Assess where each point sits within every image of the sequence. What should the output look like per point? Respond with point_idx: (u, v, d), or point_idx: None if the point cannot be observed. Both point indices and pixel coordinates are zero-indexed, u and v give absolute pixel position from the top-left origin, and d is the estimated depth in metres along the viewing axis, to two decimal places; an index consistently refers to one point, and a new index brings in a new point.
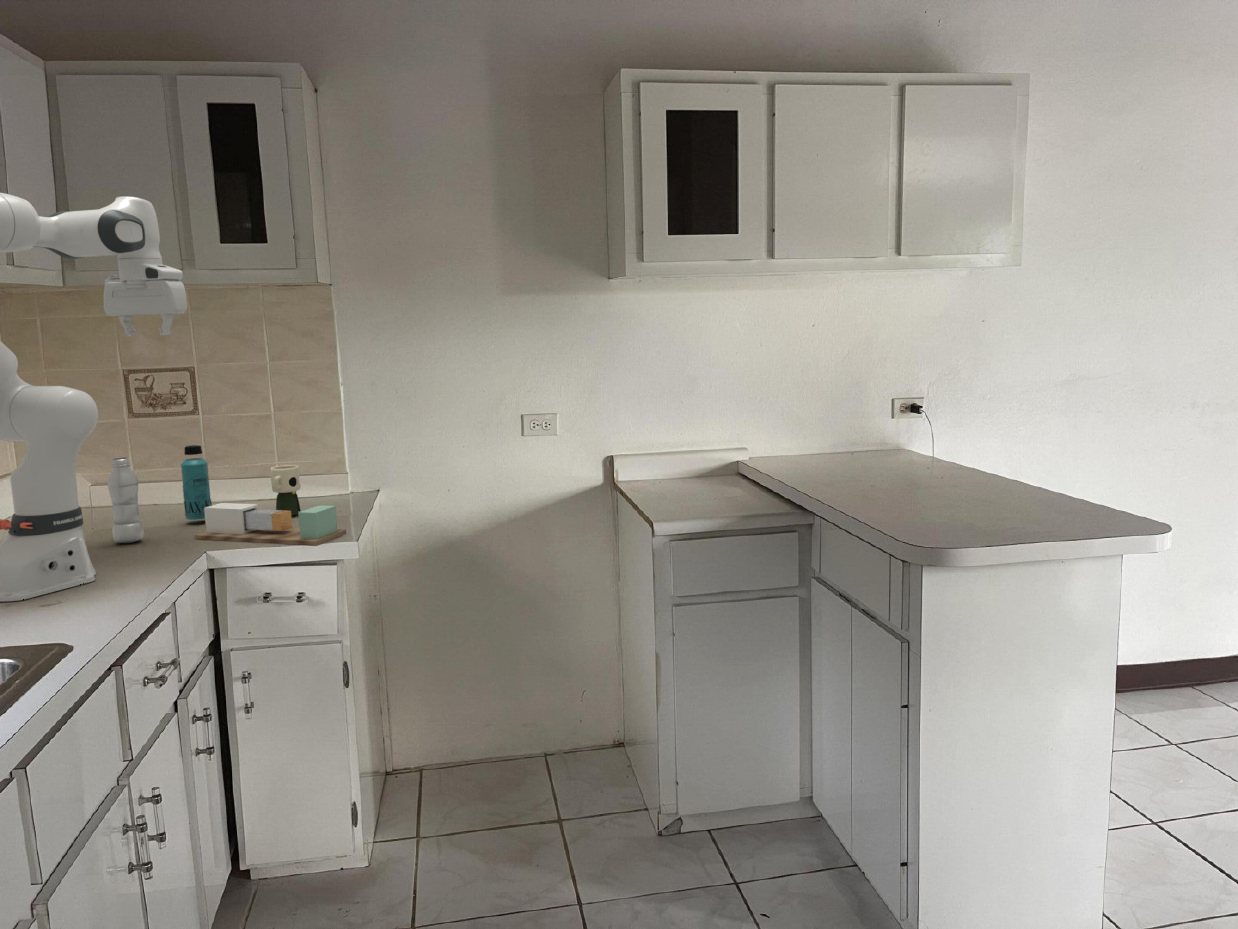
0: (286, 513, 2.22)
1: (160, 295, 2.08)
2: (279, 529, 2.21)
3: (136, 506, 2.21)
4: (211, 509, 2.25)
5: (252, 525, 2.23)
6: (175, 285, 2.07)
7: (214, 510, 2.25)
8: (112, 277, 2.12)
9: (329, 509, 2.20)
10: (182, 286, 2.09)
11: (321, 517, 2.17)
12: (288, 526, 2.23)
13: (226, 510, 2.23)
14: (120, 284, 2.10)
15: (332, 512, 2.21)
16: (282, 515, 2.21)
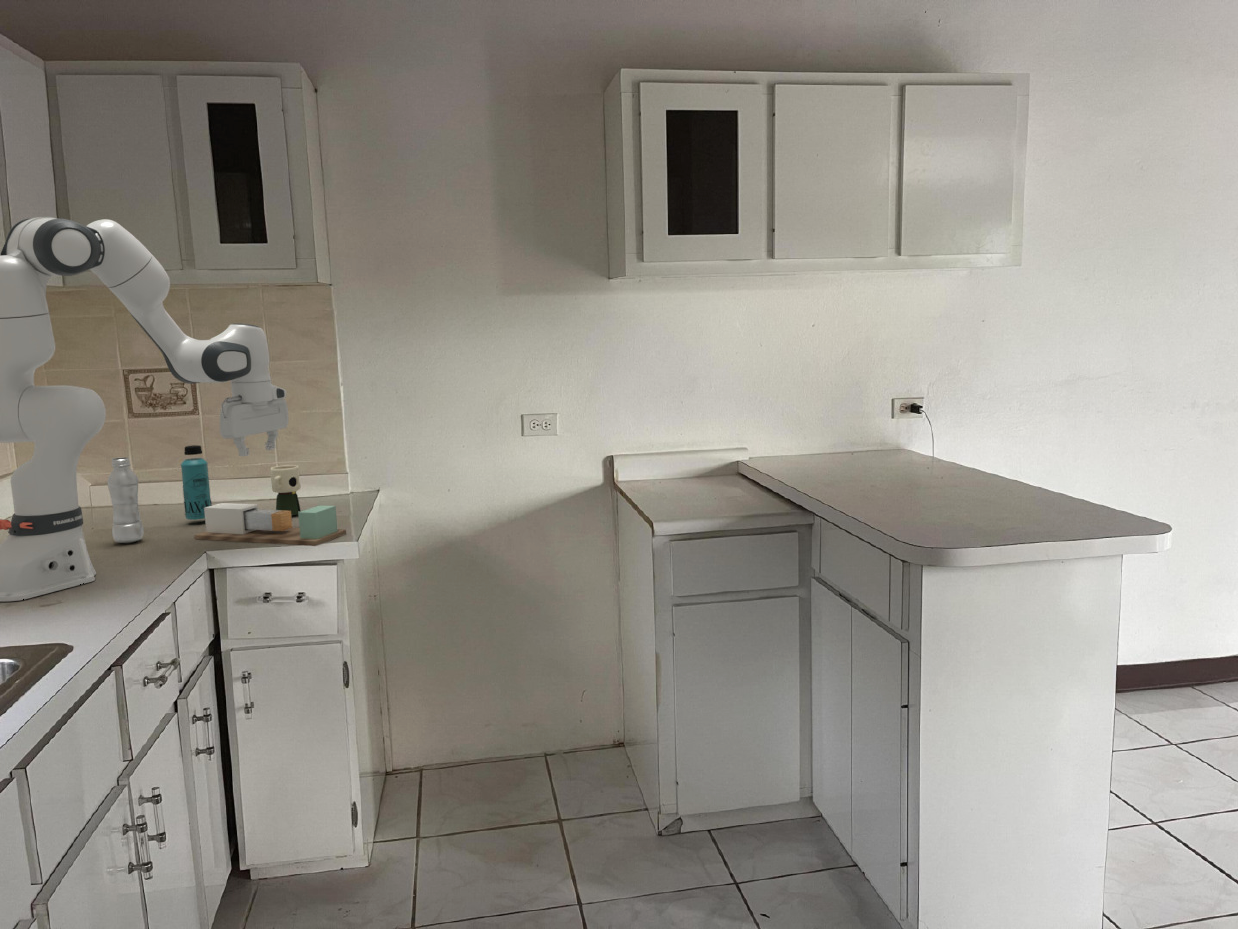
0: (286, 513, 2.22)
1: (276, 413, 2.26)
2: (279, 529, 2.21)
3: (136, 506, 2.21)
4: (211, 509, 2.25)
5: (252, 525, 2.23)
6: None
7: (214, 510, 2.25)
8: (231, 400, 2.12)
9: (329, 509, 2.20)
10: None
11: (321, 517, 2.17)
12: (288, 526, 2.23)
13: (226, 510, 2.23)
14: (247, 406, 2.16)
15: (332, 512, 2.21)
16: (282, 515, 2.21)
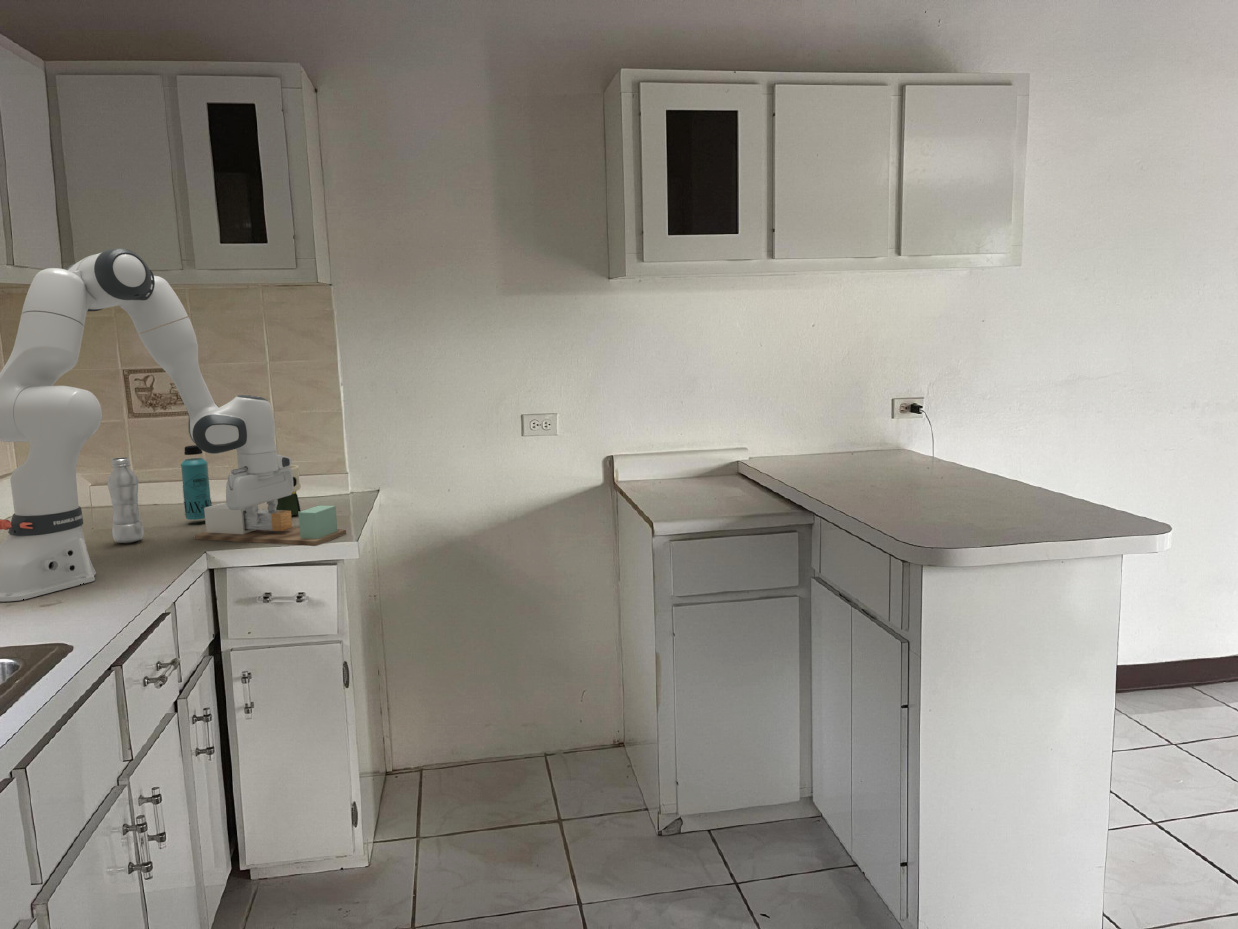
0: (286, 513, 2.22)
1: (282, 481, 2.28)
2: (279, 529, 2.21)
3: (136, 506, 2.21)
4: (211, 509, 2.25)
5: (252, 525, 2.23)
6: None
7: (214, 510, 2.25)
8: (237, 472, 2.15)
9: (329, 509, 2.20)
10: None
11: (321, 517, 2.17)
12: (288, 526, 2.23)
13: (226, 510, 2.23)
14: (253, 477, 2.18)
15: (332, 512, 2.21)
16: (282, 515, 2.21)
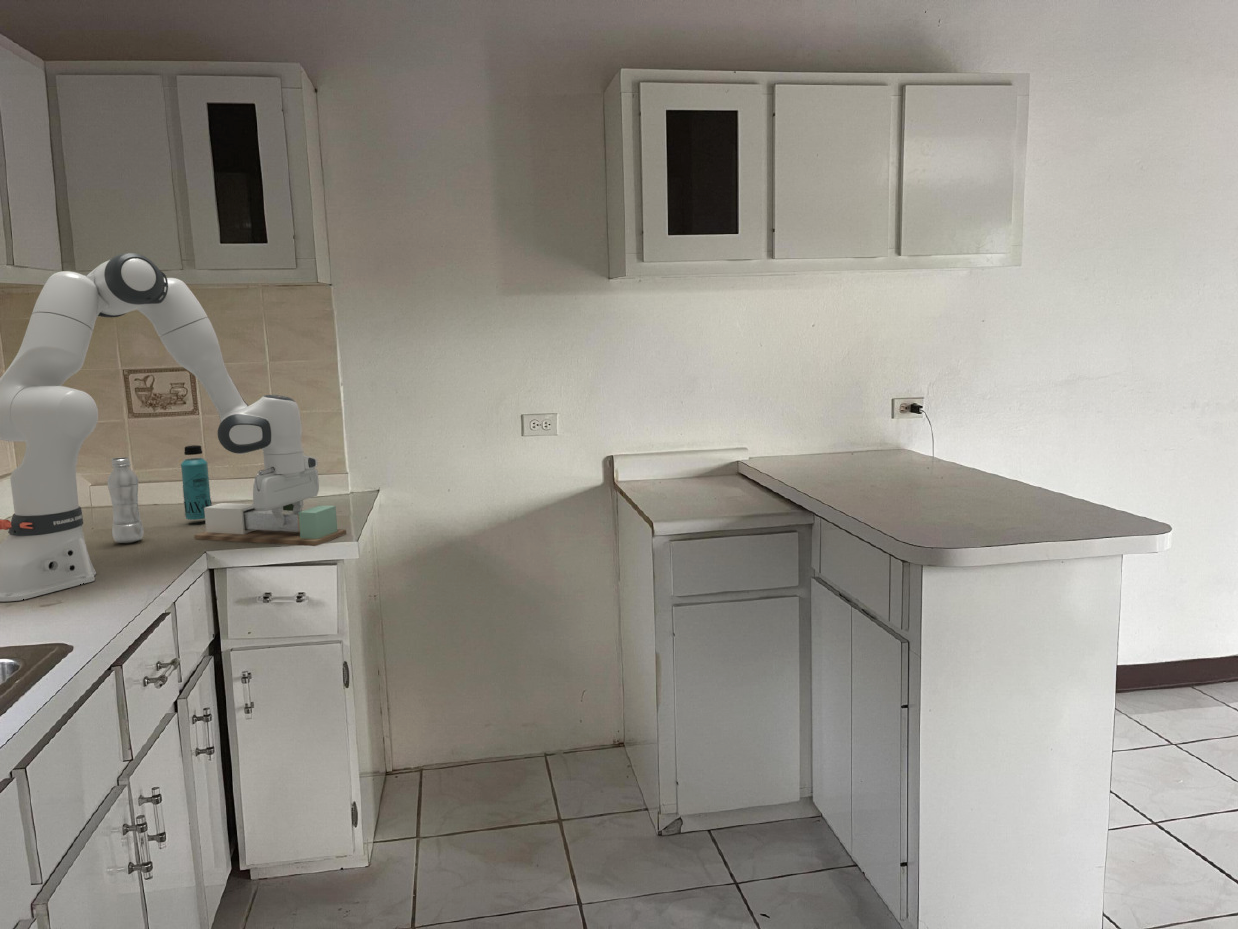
0: None
1: (307, 482, 2.26)
2: None
3: (136, 506, 2.21)
4: (211, 509, 2.25)
5: (278, 527, 2.21)
6: None
7: (214, 510, 2.25)
8: (265, 472, 2.13)
9: (329, 509, 2.20)
10: None
11: (321, 517, 2.17)
12: None
13: (226, 510, 2.23)
14: (280, 478, 2.16)
15: (332, 512, 2.21)
16: None
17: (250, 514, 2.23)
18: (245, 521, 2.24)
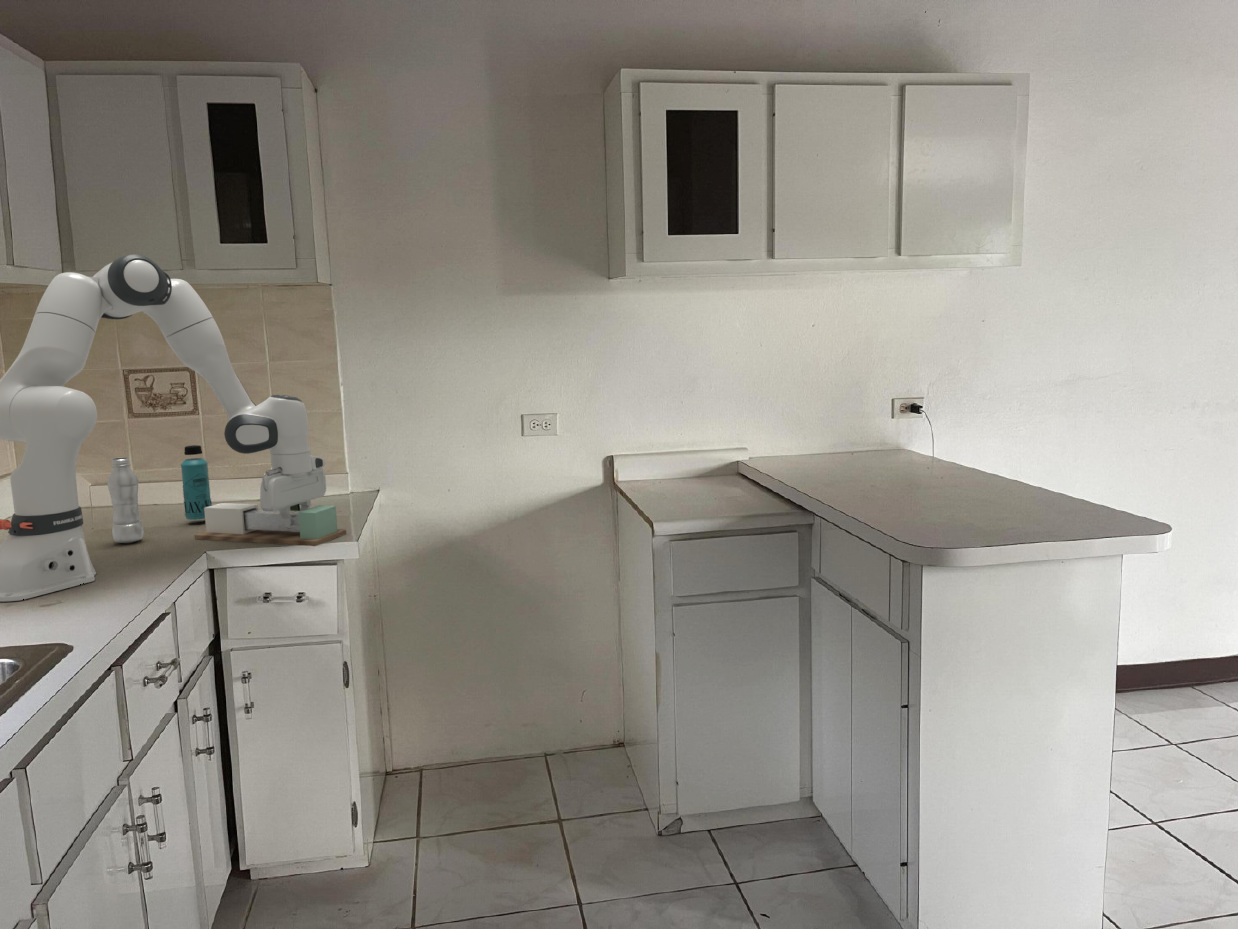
0: None
1: (315, 482, 2.26)
2: None
3: (136, 506, 2.21)
4: (211, 509, 2.25)
5: (285, 527, 2.20)
6: None
7: (214, 510, 2.25)
8: (272, 473, 2.12)
9: (329, 509, 2.20)
10: None
11: (321, 517, 2.17)
12: None
13: (226, 510, 2.23)
14: (287, 478, 2.15)
15: (332, 512, 2.21)
16: None
17: (257, 514, 2.22)
18: (252, 521, 2.23)
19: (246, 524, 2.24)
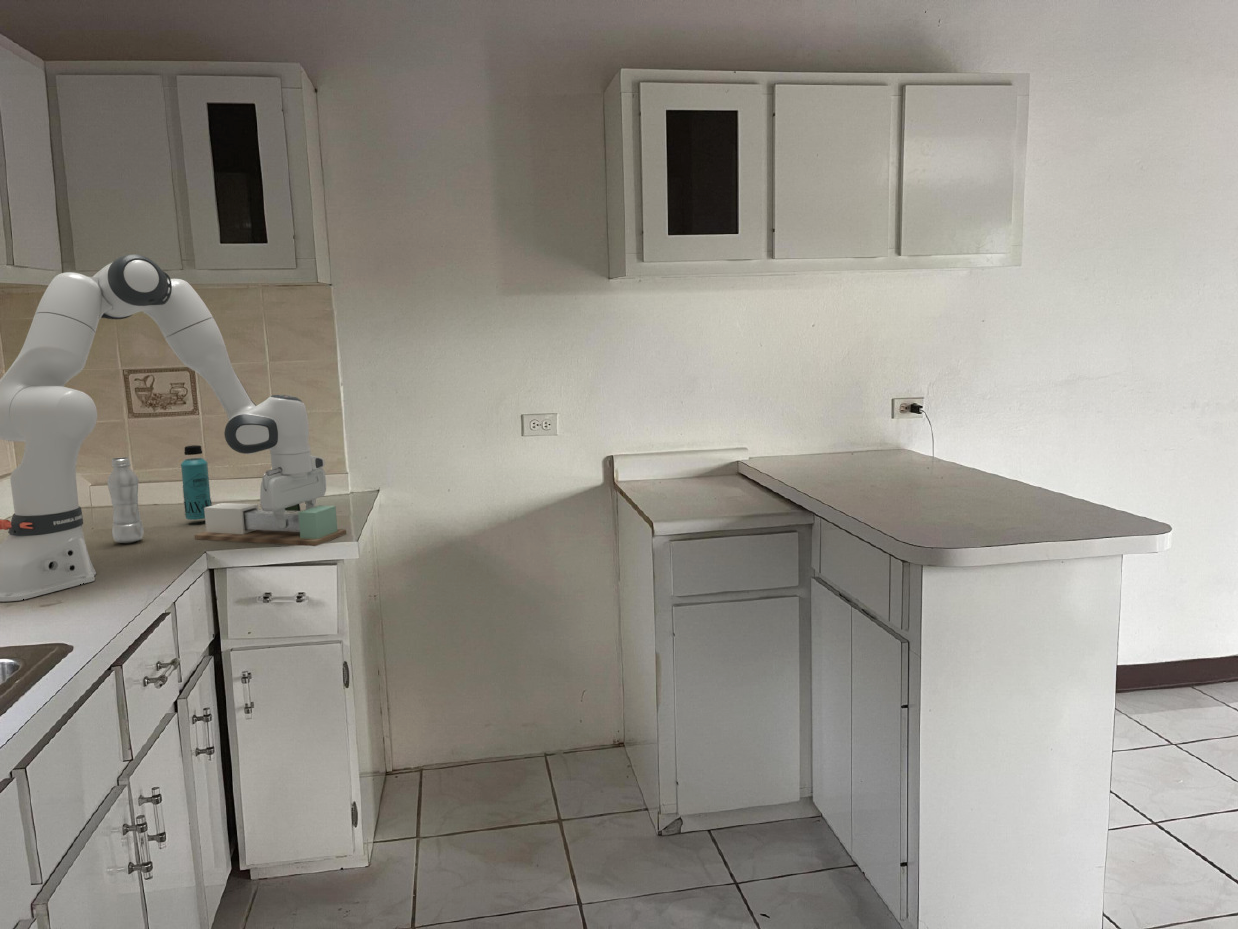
0: None
1: (315, 482, 2.26)
2: None
3: (136, 506, 2.21)
4: (211, 509, 2.25)
5: (285, 527, 2.20)
6: None
7: (214, 510, 2.25)
8: (272, 473, 2.12)
9: (329, 509, 2.20)
10: None
11: (321, 517, 2.17)
12: None
13: (226, 510, 2.23)
14: (287, 478, 2.15)
15: (332, 512, 2.21)
16: None
17: (257, 514, 2.22)
18: (252, 521, 2.23)
19: (246, 524, 2.24)
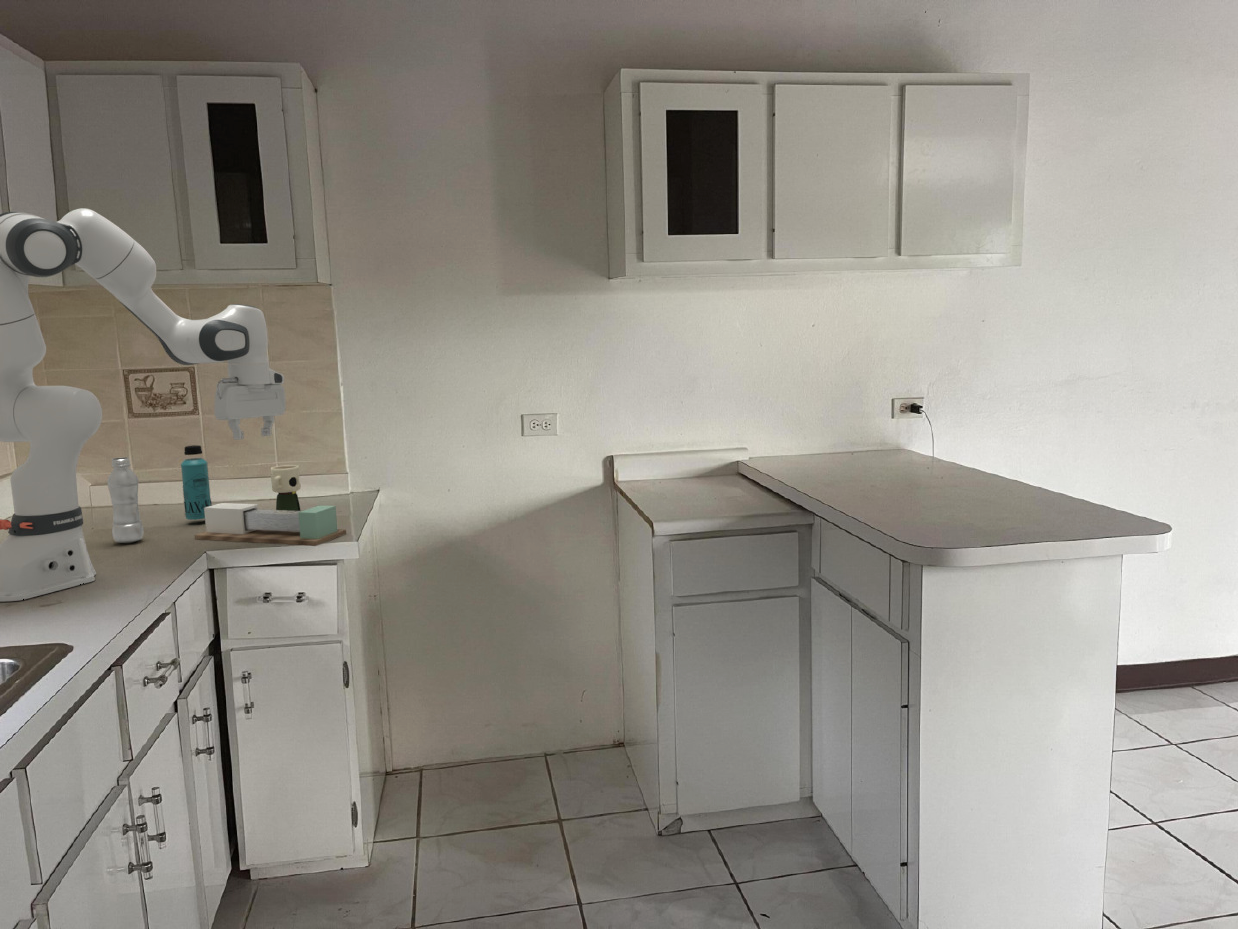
0: None
1: (273, 398, 2.21)
2: None
3: (136, 506, 2.21)
4: (211, 509, 2.25)
5: (285, 527, 2.20)
6: None
7: (214, 510, 2.25)
8: (227, 381, 2.08)
9: (329, 509, 2.20)
10: None
11: (321, 517, 2.17)
12: None
13: (226, 510, 2.23)
14: (243, 388, 2.11)
15: (332, 512, 2.21)
16: None
17: (257, 514, 2.22)
18: (252, 521, 2.23)
19: (246, 524, 2.24)
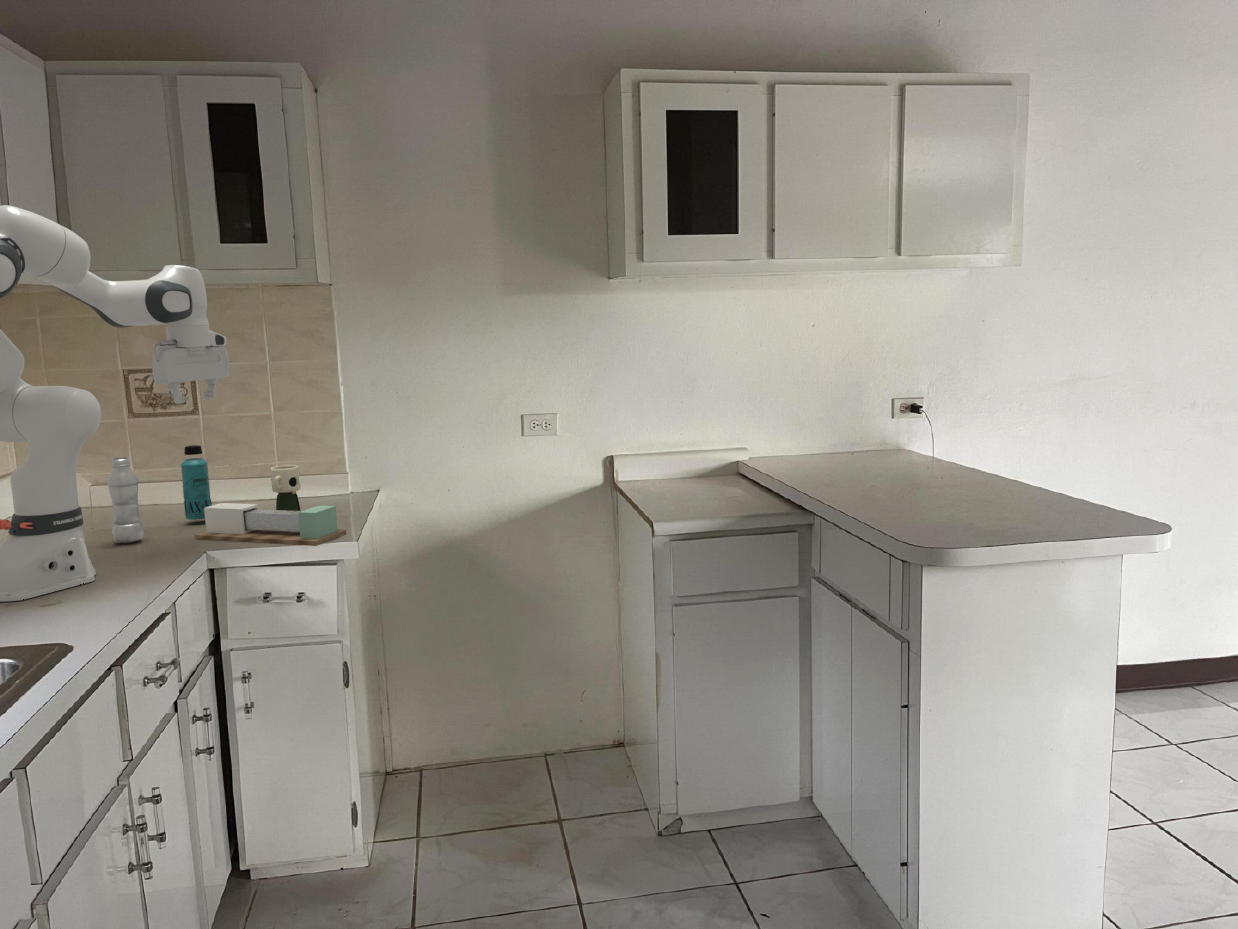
0: None
1: (216, 361, 2.17)
2: None
3: (136, 506, 2.21)
4: (211, 509, 2.25)
5: (285, 527, 2.20)
6: None
7: (214, 510, 2.25)
8: (165, 343, 2.03)
9: (329, 509, 2.20)
10: None
11: (321, 517, 2.17)
12: None
13: (226, 510, 2.23)
14: (182, 350, 2.06)
15: (332, 512, 2.21)
16: None
17: (257, 514, 2.22)
18: (252, 521, 2.23)
19: (246, 524, 2.24)
